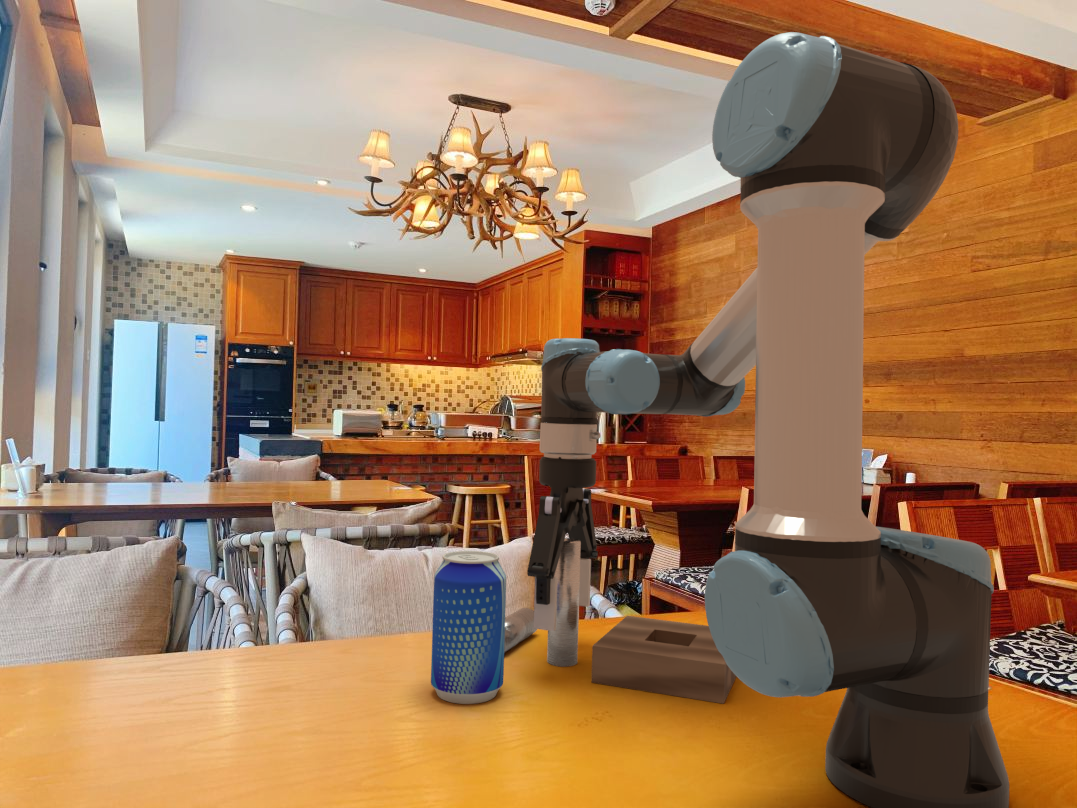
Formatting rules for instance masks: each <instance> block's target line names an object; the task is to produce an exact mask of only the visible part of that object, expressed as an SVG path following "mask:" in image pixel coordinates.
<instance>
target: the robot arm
mask: <svg viewBox="0 0 1077 808" xmlns="http://www.w3.org/2000/svg"><path fill="white" fill-rule="evenodd" d="M723 89H724V90H723V91H722V93H721V96H720V99H719V102H718V105H717V107H716V110H715V111H716V112H715V113H714V114H715V115H714V120H713V124H712V132H711V133H712V134H711V135H712V137H711V140H712V149H713V155H714V157H715V159H716V161H717V162H719V163H720V164H719V165H720V166H721V168H722V169H723V170H724V171H726V172H727V173H728V174H729V175H730V176H732V177H734V178H739V179H740V189H739V190H740V191H739V192H740V201H739V202H740V204H739V205H740V207H739V210H740V212H741V213H742V214H743V215H744V216H745V217H746V218H747V219H748V220H749V221H751V222H752V224H754V225H755V226H756V227H755V228H756V229H757V267H756V268H755V269H754V270H753V271H752V273H751V274H750V275H749V276H748V277H747V278H746V280H745V281H744V282H743V283H742V285H741V286H740V287H739V288H738V289H737V290H736V291H735V292H734V294H733V295H732V296H731V297H730V299H729V300H728V301H727V302H726V303H725V305H724V306H723V307H722V308H721V309H720V310H719V312H718V313H717V314H716V315H715V316H714V318H713V319H712V320H711V321H710V322H709V323H708V325H707V326H706V327H705V328H704V329H703V330H702V331H701V333H700V334H699V335H698V336H697V337H696V338H695V340H694V341H693V342H692V343H691V344H690V345H689V346H688V347H687V349H686V350H685V351H683V352H684V353H681V354H658V353H648V352H647V353H646V352H641V351H638V350H635V349H634V350H633V349H621V348H616V349H615V348H614V349H610V350H608V351H601V350H600V344H599V342H597V341H596V340H594V339H588V338H577V337H576V338H574V337H573V338H571V337H565V338H564V337H563V338H552V339H549V340H547V341H546V343H545V344H544V346H543V355H542V357H543V359H542V363H541V369H540V370H541V404H540V405H541V408H540V409H541V412H540V414H541V415H540V417H541V418H540V420H541V421H540V426H539V427H540V428H539V429H540V430H539V433H540V434H539V452H540V453H541V454H542V453H543V456H541V458H540V459H539V467H538V473H539V474H538V481H539V484H540V485H542V486H545V487H549V488H550V494H549V496H546V495H545V496H544V495H543V496H542V495H541V496H540V497H539V498H540V499H539V503H538V504H539V507H538V516H537V521H536V527H535V531H534V535H533V540H532V546H531V550H530V551H531V552H530V555H529V561H528V566H527V570H526V571H527V572H526V573H527V576H528V577H532V578H534V602H533V607H534V608H533V611H534V628H535V629H537V630H541V631H548V630H549V631H555V630H556V611H557V578H558V577H554V575H555V571H556V568H557V564H558V561H559V557H560V554H561V550H562V546H563V543H564V539H565V538H566V535H567V534H568V538H571V539H577V540H580V541H581V548H580V584H579V607H587V608H588V607H590V605H591V575H592V574H591V573H592V572H591V571H592V559H597V558H598V554H599V552H598V550H597V548H598V547H597V546H598V545H597V537H596V530H595V529H596V528H595V524H594V523H595V522H594V515H593V508H592V507H593V505H592V489H591V488H592V487H594V486H595V485H596V483H597V482H596V480H597V479H596V478H597V461H596V459H595V458H593V457H592V455H595V453H597V443H598V442H597V440H599V439H600V438H601V433H600V432H599V431H597V430H598V415H599V414H598V413H606V414H610V415H632V414H638V415H639V414H642V415H643V414H645V415H647V414H648V415H682V416H697V417H704V418H705V417H707V418H709V417H713V416H723V415H728V414H730V413H733V412H734V411H735V410H736V409H737V408H738V407H739V406H740V405H741V401H742V400H741V399H742V397H743V396H744V395H745V391H746V379H745V377H746V376H747V375H748V374H749V373H750V372H751V371H752V370H753V369H754V368H755V398H754V399H755V400H754V403H755V404H754V405H755V408H754V409H755V410H754V412H755V414H754V421H755V422H754V467H753V468H754V473H753V474H754V475H753V476H754V477H753V478H754V479H753V481H754V482H753V505H752V506H751V507H750V509H749V510H748V511H747V512H746V513H745V514H744V515H743V516H742V517H741V518H739V520H737V521H736V522H735V524H734V525H735V526H734V529H735V530H734V532H735V533H734V551H730V552H728V553H727V554H726V555H724V556H722V557H720V558H719V559H718V560H717V561H716V562H715V563H714V565H713V570H711V571H710V572H709V573H708V575H707V579H706V583H705V587H704V608H705V609H704V610H705V616H706V621H707V626H709V629H710V632H711V635H712V638H713V641H714V643H715V645H716V647H717V649H718V651H719V652H720V653H721V654H722V656H723V658H724V660H725V662H726V664H727V666H728V667H729V668H730V669H731V671H732V672H733V673H734V674H735V675H736V678H738V679H739V681H740V682H742V683H743V684H744V685H746V686H747V687H748V688H750V689H752V690H753V691H755V692H758V693H759V694H761V695H765V696H768V697H774V698H789V697H804V698H808V697H809V698H810V697H817V696H820V695H823V694H824V693H828V692H833V691H839V690H843V689H846V691H845V694H844V696H843V699H842V701H841V705H840V707H839V709H838V713H837V715H836V718H835V721H834V723H833V725H832V727H831V730H830V733H829V736H828V739H827V741H826V746H825V766H824V767H825V773H826V775H827V778H828V779H829V780H830V782H831V783H832V785H834V786H835V787H836V788H838V790H840V791H842V793H844V794H845V795H846V796H849V797H850V798H852V799H853V800H855V801H857V802H859V803H861V804H864V805H866V806H867V807H870V808H1009V806H1010V780H1009V775H1008V772H1007V768H1006V766H1005V763H1004V760H1003V756H1002V753H1001V750H1000V747H999V743H998V741H997V738H996V733H995V732H994V728H993V724H992V722H991V719H990V718H991V717H990V715H989V688H990V687H989V686H990V685H989V684H990V656H991V655H990V650H991V648H990V647H991V622H992V619H991V617H992V616H991V615H992V595H993V594H994V590H995V589H994V588H995V587H994V585H993V583H992V569H991V563H992V562H991V558H990V555H989V553H988V551H987V550H986V549H985V548H984V547H983V546H982V545H979V544H977V543H975V542H972V541H967V540H962V539H958V538H957V539H956V538H951V537H944V536H941V535H934V534H928V533H921V532H916V531H909V530H904V529H903V530H902V529H897V528H890V527H883V526H876V525H875V524H874V523H872V521H870V520H869V518H868V517H867V516H866V515H865V513H864V512H863V510H862V487H863V485H862V482H863V481H862V479H863V478H862V477H863V474H862V473H863V403H864V401H863V399H864V398H863V396H864V394H863V393H864V391H863V390H864V388H863V387H864V386H863V385H864V382H863V381H864V327H865V325H864V322H865V321H864V317H865V314H864V313H865V312H864V310H865V304H864V303H865V301H864V300H865V297H864V296H865V255H866V254H868V252H869V251H870V250H871V249H872V248H873V247H875V245H876V244H878V243H879V242H891V241H894V240H896V239H897V237H899V236H900V235H901V234H902V233H903V232H904V231H905V230H906V229H907V228H908V226H910V225H911V224H912V223H913V222H914V221H915V220H916V219H917V217H918V216H919V215H920V214H921V213H923V211H924V210H925V208H927V206H928V205H929V204H930V202H931V201H932V199H934V198H935V196H936V194H937V193H938V191H939V189H940V188H941V186H942V185H943V183H944V181H945V180H946V178H947V175H948V173H949V171H950V168H951V166H952V164H953V162H954V158H955V154H956V150H957V146H958V141H959V119H958V113H957V110H956V107H955V103H954V101H953V98H952V97H951V95H950V92H949V91H948V90H947V88H946V87H945V86H944V84H943V83H942V82H941V81H940V80H939V79H938V78H937V77H936V76H934V75H933V74H932V73H931V72H929V71H928V70H926V69H923V68H921V67H919V66H917V65H913V64H912V63H911V64H910V63H906V62H903V61H901V62H900V61H897V60H893V59H891V58H887V57H883V56H880V55H877V54H874V53H870V52H867V51H864V50H859V49H858V48H857V49H856V48H853V47H850V46H847V45H844V44H840V43H838V42H837V41H836V39H834V38H832V37H830V36H827V35H826V36H825V35H820V36H815V35H810V34H808V33H807V34H806V33H802V32H798V31H797V32H796V31H795V32H794V31H790V32H783V33H779V34H776V35H774V36H771V37H769V38H768V39H766V40H764V41H763V42H761V43H760V44H759V45H757V46H756V47H755V48H753V49H752V50H751V51H750V52H748V54H747V55H746V56H745V57H744V58H743V60H742V61H741V62H740V63H739V64H738V66H737V67H736V68H735V71H734V72H733V75H732V76H731V78H730V79H729V81H728V82H727V83H726V86H725V87H724V88H723Z"/></svg>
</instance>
